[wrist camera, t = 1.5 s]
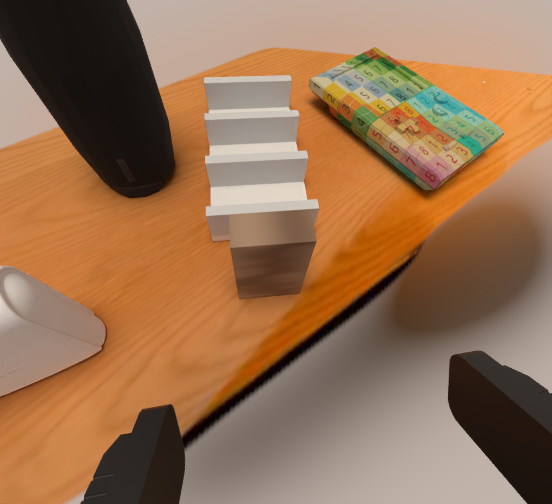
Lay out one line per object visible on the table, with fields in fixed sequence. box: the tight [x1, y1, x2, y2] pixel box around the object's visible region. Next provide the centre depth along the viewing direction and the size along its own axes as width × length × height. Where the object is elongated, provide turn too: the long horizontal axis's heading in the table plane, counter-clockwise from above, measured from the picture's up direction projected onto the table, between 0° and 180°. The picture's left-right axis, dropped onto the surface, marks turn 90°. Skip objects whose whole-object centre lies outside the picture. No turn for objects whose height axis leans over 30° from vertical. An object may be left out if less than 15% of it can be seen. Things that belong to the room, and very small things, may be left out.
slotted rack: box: [204, 75, 319, 241], centre depth 33 cm, size 10×19×4 cm, turn 6°
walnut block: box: [229, 209, 316, 299], centre depth 25 cm, size 6×2×10 cm, turn 96°
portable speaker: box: [0, 0, 175, 198], centre depth 26 cm, size 9×9×20 cm
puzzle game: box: [309, 47, 504, 190], centre depth 38 cm, size 12×5×20 cm
